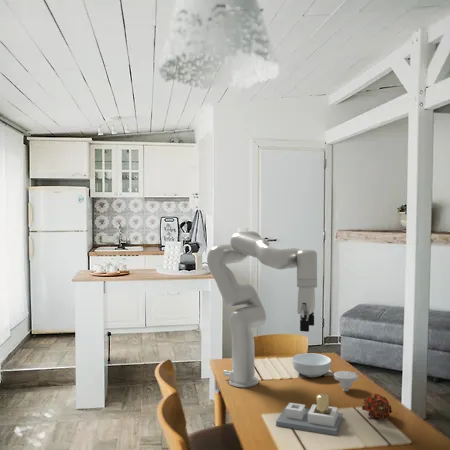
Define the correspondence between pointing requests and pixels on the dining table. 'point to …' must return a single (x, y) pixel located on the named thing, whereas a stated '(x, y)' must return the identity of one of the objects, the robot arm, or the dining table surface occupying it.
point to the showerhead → (346, 378)
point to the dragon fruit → (377, 406)
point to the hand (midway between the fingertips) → (307, 328)
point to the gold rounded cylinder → (322, 404)
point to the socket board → (310, 419)
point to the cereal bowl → (311, 364)
